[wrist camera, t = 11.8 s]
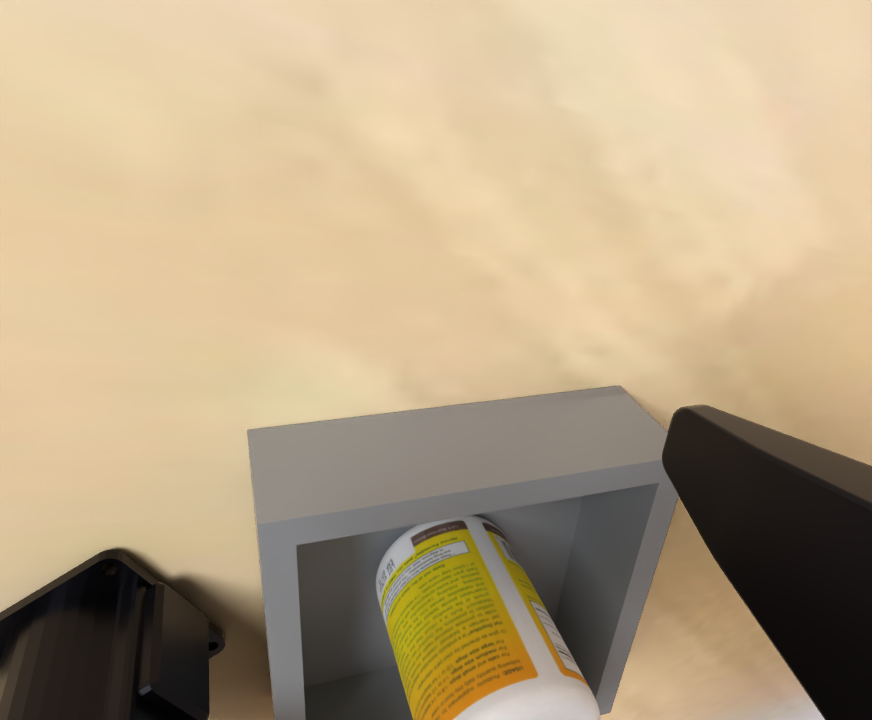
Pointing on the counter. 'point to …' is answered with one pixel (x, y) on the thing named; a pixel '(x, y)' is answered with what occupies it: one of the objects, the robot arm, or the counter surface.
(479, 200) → the counter surface
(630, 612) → the box
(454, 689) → the supplement bottle
